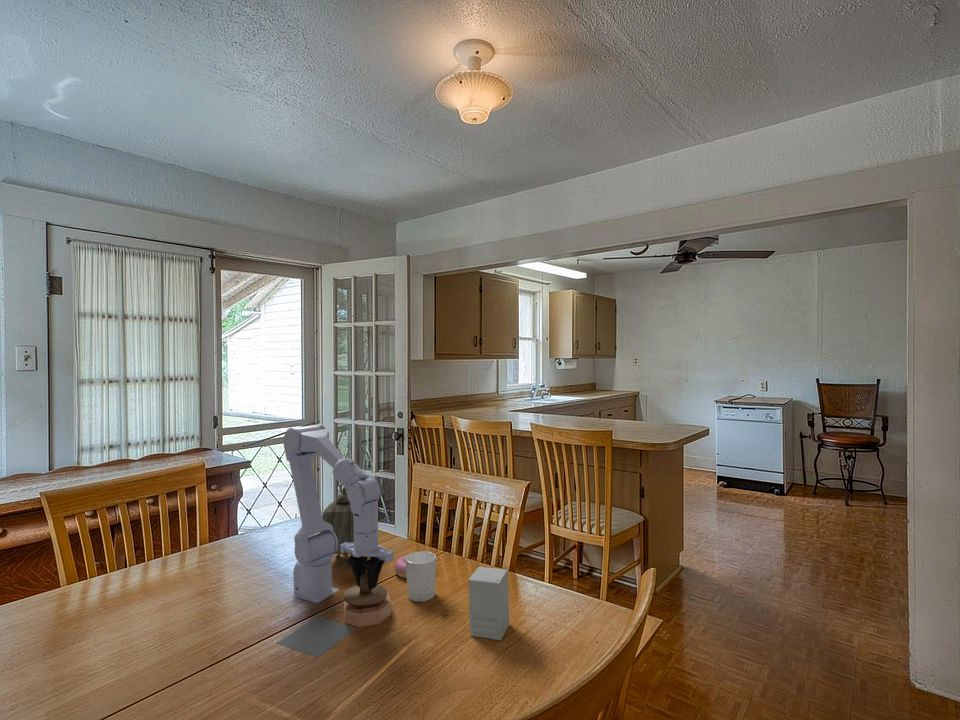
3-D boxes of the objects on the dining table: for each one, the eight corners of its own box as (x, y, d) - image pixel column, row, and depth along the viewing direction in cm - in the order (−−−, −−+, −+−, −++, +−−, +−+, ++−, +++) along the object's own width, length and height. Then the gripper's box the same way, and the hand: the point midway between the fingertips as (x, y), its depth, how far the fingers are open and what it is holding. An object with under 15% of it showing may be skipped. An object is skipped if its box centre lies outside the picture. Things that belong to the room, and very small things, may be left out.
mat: (276, 645, 108) (276, 642, 108) (317, 619, 119) (317, 616, 119) (318, 660, 102) (317, 657, 102) (357, 630, 113) (357, 628, 113)
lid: (334, 599, 117) (335, 577, 117) (363, 585, 126) (364, 565, 126) (367, 609, 112) (368, 586, 112) (395, 593, 121) (396, 572, 121)
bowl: (335, 622, 117) (334, 607, 117) (364, 601, 127) (364, 587, 127) (370, 632, 112) (370, 617, 112) (399, 610, 122) (398, 596, 122)
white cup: (431, 604, 125) (430, 564, 124) (401, 602, 126) (400, 562, 126) (440, 589, 132) (439, 552, 132) (412, 587, 134) (411, 550, 134)
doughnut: (440, 569, 145) (440, 555, 145) (416, 584, 136) (415, 569, 136) (411, 561, 151) (411, 548, 151) (386, 575, 142) (385, 561, 142)
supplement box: (510, 624, 115) (509, 569, 115) (501, 641, 108) (499, 583, 108) (479, 619, 117) (478, 565, 117) (468, 636, 110) (467, 579, 110)
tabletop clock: (352, 570, 145) (351, 484, 145) (321, 570, 145) (320, 485, 145) (365, 550, 160) (363, 472, 160) (336, 551, 160) (335, 473, 160)
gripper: (330, 530, 119) (332, 587, 119) (379, 539, 112) (380, 600, 112) (351, 521, 125) (352, 575, 125) (398, 529, 119) (399, 586, 119)
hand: (367, 586), depth 119 cm, fingers closed on lid, 3 cm apart
